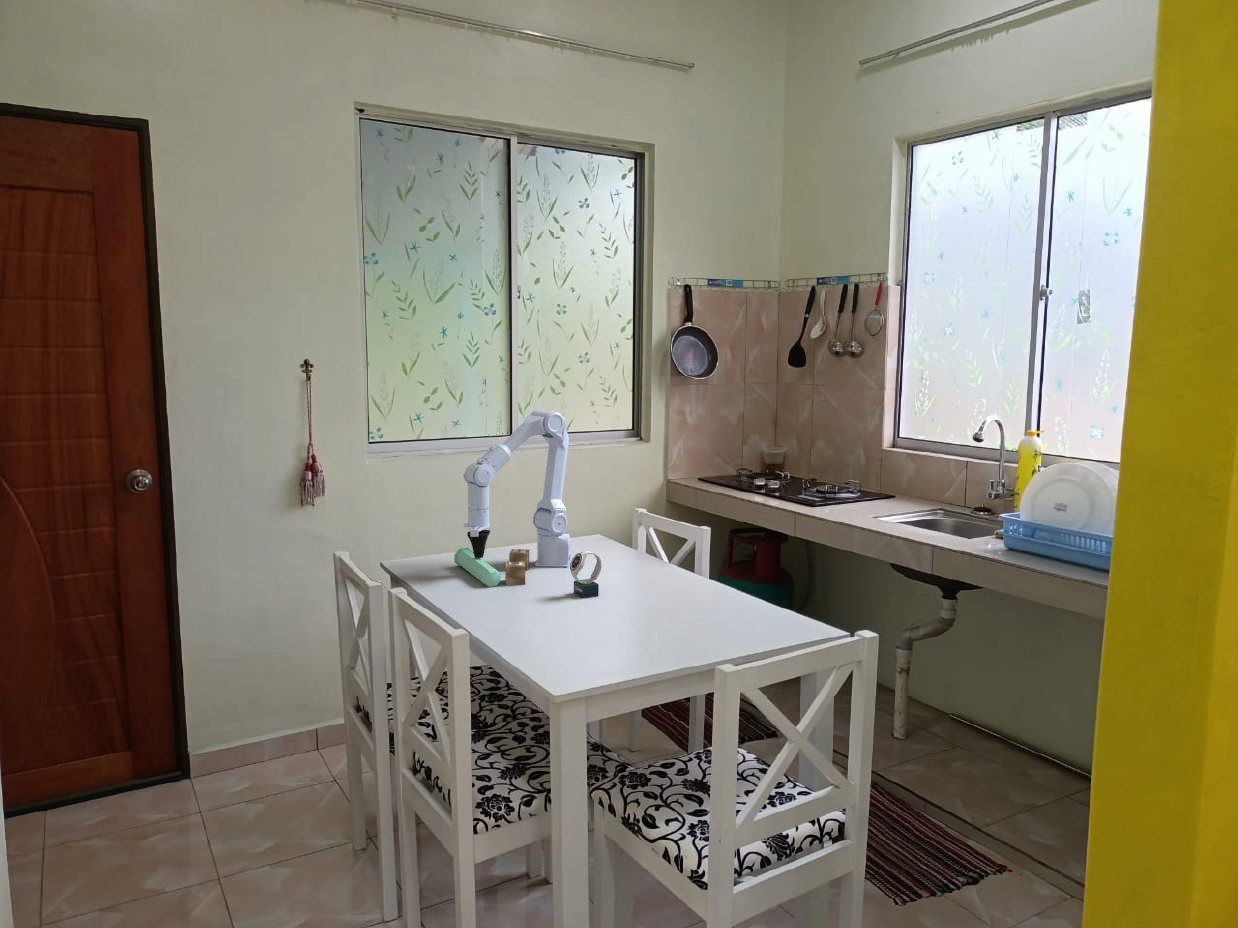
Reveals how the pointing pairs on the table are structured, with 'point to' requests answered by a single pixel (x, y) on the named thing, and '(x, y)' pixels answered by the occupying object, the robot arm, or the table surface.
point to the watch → (588, 585)
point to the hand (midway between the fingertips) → (478, 557)
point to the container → (477, 567)
